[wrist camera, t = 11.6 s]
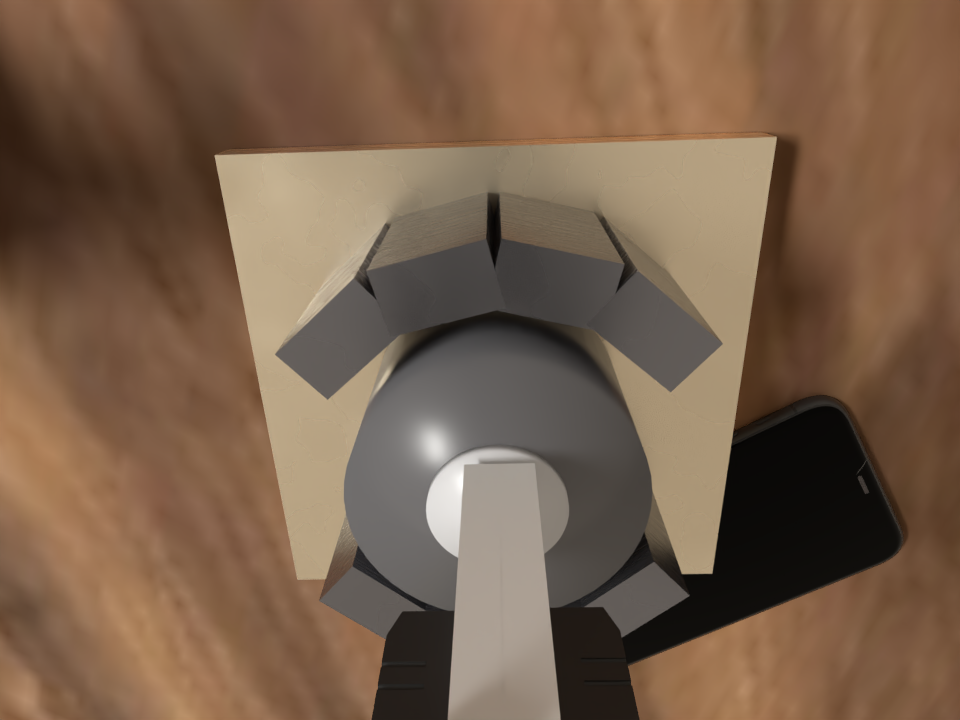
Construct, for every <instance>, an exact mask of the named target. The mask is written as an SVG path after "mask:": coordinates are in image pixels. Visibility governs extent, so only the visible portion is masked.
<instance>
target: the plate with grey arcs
mask: <svg viewBox="0 0 960 720" xmlns="http://www.w3.org/2000/svg"><path fill="white" fill-rule="evenodd" d="M776 140H777V137H775V136H773V135H770V134H767V133H764V132H744V133H713V134H682V135H652V136H621V137H590V138H560V139H529V140H499V141H468V142H437V143H407V144H376V145H346V146H315V147H284V148H254V149H228V150H226V151H223V152H221V153H219V154H216V155H215V160H216V165H217V170H218V175H219V181H220V186H221V191H222V196H223V201H224V206H225V211H226V216H227V222H228V227H229V232H230V237H231V242H232V247H233V252H234V257H235V263H236V268H237V273H238V278H239V283H240V288H241V293H242V298H243V303H244V309H245V314H246V319H247V324H248V329H249V334H250V339H251V344H252V350H253V355H254V360H255V365H256V370H257V375H258V380H259V385H260V390H261V396H262V401H263V406H264V411H265V416H266V421H267V426H268V431H269V437H270V442H271V447H272V452H273V457H274V462H275V467H276V472H277V478H278V483H279V488H280V493H281V498H282V503H283V508H284V513H285V518H286V524H287V529H288V534H289V539H290V544H291V549H292V554H293V559H294V565H295V570H296V575H297V580H301V579H326V580H325V584H324V587H323V590H322V593H321V597H320V600H319V601H320V602H322V603H324V604H326V605H327V606H329V607H331V608H333V609H334V610H336V611H338V612H339V613H341V614H343V615H345V616H346V617H348V618H350V619H352V620H353V621H355V622H357V623H358V624H360V625H362V626H364V627H365V628H367V629H369V630H370V631H372V632H374V633H376V634H377V635H379V636H381V637H383V638H384V639H386V636H387V634H388V632H389V631H390V629H391V628H392V626H393V625H394V623H395V622H396V620H397V619H398V617H399V616H400V614H401V613H402V611H447V610H444V609H440V608H437V607H435V606H432V605H430V604H427V603H425V602H422V601H420V600H418V599H417V598H415V597H413V596H411V595H409V594H407V593H405V592H404V591H402V590H401V589H400V588H398V587H397V586H395V585H394V584H392V583H391V582H390V581H389V580H388V579H386V578H385V577H384V576H383V575H382V574H381V573H380V572H379V571H378V570H377V569H376V568H375V567H374V566H373V565H372V564H371V563H370V561H369V560H368V559H367V558H366V556H365V555H364V553H363V552H362V550H361V549H360V547H359V546H358V544H357V542H356V540H355V538H354V536H353V534H352V532H351V529H350V526H349V522H348V519H347V516H346V510H345V504H344V479H345V474H346V468H347V464H348V461H349V458H350V455H351V452H352V449H353V446H354V443H355V440H356V437H357V434H358V431H359V428H360V426H361V423H362V420H363V417H364V414H365V411H366V408H367V405H368V402H369V399H370V396H371V393H372V390H373V387H374V384H375V381H376V378H377V375H378V372H379V369H380V366H381V363H382V360H383V357H384V355H385V352H386V350H387V349H388V347H389V345H390V343H392V342H393V341H394V340H395V339H396V338H397V337H398V336H399V335H402V334H406V333H410V332H413V331H417V330H421V329H425V328H429V327H433V326H437V325H441V324H445V323H449V322H453V321H456V320H460V319H464V318H468V317H472V316H476V315H480V314H484V313H488V312H492V311H501V312H506V313H511V314H516V315H521V316H526V317H531V318H536V319H541V320H546V321H551V322H555V323H560V324H565V325H570V326H575V327H580V328H585V329H590V330H594V331H595V332H596V333H597V335H598V336H599V338H600V340H601V341H602V343H603V345H604V346H605V348H606V350H607V353H608V355H609V357H610V360H611V362H612V365H613V368H614V371H615V373H616V376H617V379H618V381H619V384H620V387H621V390H622V392H623V395H624V398H625V400H626V403H627V406H628V409H629V411H630V414H631V417H632V419H633V422H634V425H635V428H636V430H637V433H638V436H639V438H640V441H641V444H642V446H643V449H644V452H645V455H646V457H647V460H648V465H649V469H650V473H651V479H652V504H651V511H650V515H649V519H648V523H647V526H646V529H645V531H644V533H643V536H642V538H641V540H640V542H639V544H638V545H637V547H636V549H635V550H634V552H633V554H632V555H631V556H630V558H629V559H628V560H627V561H626V563H625V564H624V565H623V566H622V567H621V568H620V569H619V570H618V571H617V572H616V573H615V574H614V575H613V576H612V577H611V578H610V579H609V580H608V581H606V582H605V583H604V584H602V585H601V586H599V587H598V588H597V589H595V590H594V591H592V592H590V593H589V594H587V595H585V596H583V597H582V598H580V599H578V600H576V601H573V602H571V603H569V604H567V605H564V606H562V607H558V608H564V607H603V608H604V609H605V610H606V612H607V613H608V614H609V616H610V617H611V619H612V620H613V621H614V623H615V624H616V625H617V627H618V628H619V630H620V632H621V637H624V636H625V635H627V634H629V633H630V632H632V631H633V630H635V629H637V628H638V627H640V626H642V625H643V624H645V623H646V622H648V621H650V620H651V619H653V618H655V617H656V616H658V615H659V614H661V613H663V612H664V611H666V610H668V609H669V608H671V607H672V606H674V605H676V604H677V603H679V602H681V601H682V600H684V599H685V598H687V597H689V596H690V595H689V592H688V590H687V587H686V584H685V581H684V578H683V575H682V574H712V572H713V565H714V558H715V551H716V545H717V538H718V531H719V524H720V518H721V511H722V504H723V497H724V491H725V484H726V477H727V470H728V464H729V457H730V450H731V443H732V437H733V430H734V423H735V416H736V410H737V403H738V396H739V389H740V383H741V376H742V369H743V362H744V356H745V349H746V342H747V335H748V329H749V322H750V315H751V308H752V302H753V295H754V288H755V282H756V275H757V268H758V261H759V255H760V248H761V241H762V234H763V228H764V221H765V214H766V207H767V201H768V194H769V187H770V180H771V174H772V167H773V160H774V153H775V147H776Z"/></svg>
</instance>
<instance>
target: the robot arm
mask: <svg viewBox="0 0 960 720" xmlns="http://www.w3.org/2000/svg"><path fill="white" fill-rule="evenodd" d="M372 720H639V715H638V711H637V706H636V702H635V697H634V692H633V688H632V686H631V678H630V674H629V669H628V665H627V663H626V655H625V651H624V646H623V641H622V637H621V632H620V630H619V628H618V627H617V625H616V624H615V623H614V621H613V620H612V619H611V617H610V616H609V614H608V613H607V612H606V610H605V609H604V608H603V607H564V608H549V599H548V589H547V579H546V570H545V560H544V550H543V540H542V530H541V520H540V510H539V500H538V490H537V480H536V470H535V463H516V464H464V476H463V491H462V507H461V522H460V538H459V553H458V569H457V584H456V599H455V611H402V613H401V614H400V616H399V617H398V619H397V620H396V622H395V623H394V625H393V626H392V628H391V629H390V631H389V632H388V634H387V636H386V641H385V647H384V653H383V658H382V667H381V670H380V675H379V681H378V690H377V693H376V698H375V704H374V710H373V715H372Z"/></svg>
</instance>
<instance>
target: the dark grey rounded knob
mask: <svg viewBox="0 0 960 720" xmlns="http://www.w3.org/2000/svg"><path fill="white" fill-rule="evenodd" d="M516 463H535V470H536V480H537V490H538V500H539V510H540V520H541V530H542V540H543V550H544V560H545V570H546V579H547V589H548V599H549V608H558V607H562V606H564V605H567V604H569V603H571V602H573V601H576V600H578V599H580V598H582V597H583V596H585V595H587V594H589V593H590V592H592V591H594V590H595V589H597V588H598V587H599V586H601V585H602V584H604V583H605V582H606V581H608V580H609V579H610V578H611V577H612V576H613V575H614V574H615V573H616V572H617V571H618V570H619V569H620V568H621V567H622V566H623V565H624V564H625V563H626V561H627V560H628V559H629V558H630V556H631V555H632V554H633V552H634V550H635V549H636V547H637V545H638V544H639V542H640V540H641V538H642V536H643V533H644V531H645V529H646V526H647V523H648V519H649V515H650V511H651V504H652V479H651V473H650V469H649V465H648V460H647V457H646V455H645V452H644V449H643V446H642V444H641V441H640V438H639V436H638V433H637V430H636V428H635V425H634V422H633V419H632V417H631V414H630V411H629V409H628V406H627V403H626V400H625V398H624V395H623V392H622V390H621V387H620V384H619V381H618V379H617V376H616V373H615V371H614V368H613V365H612V362H611V360H610V357H609V355H608V353H607V350H606V348H605V346H604V345H603V343H602V341H601V340H600V338H599V336H598V335H597V333H596V332H595V331H594V330H590V329H585V328H580V327H575V326H570V325H565V324H560V323H555V322H551V321H546V320H541V319H536V318H531V317H526V316H521V315H516V314H511V313H506V312H501V311H492V312H488V313H484V314H480V315H476V316H472V317H468V318H464V319H460V320H456V321H453V322H449V323H445V324H441V325H437V326H433V327H429V328H425V329H421V330H417V331H413V332H410V333H406V334H402V335H399V336H398V337H397V338H396V339H395V340H394V341H393V342H392V343H390V345H389V347H388V349H387V350H386V352H385V355H384V357H383V360H382V363H381V366H380V369H379V372H378V375H377V378H376V381H375V384H374V387H373V390H372V393H371V396H370V399H369V402H368V405H367V408H366V411H365V414H364V417H363V420H362V423H361V426H360V428H359V431H358V434H357V437H356V440H355V443H354V446H353V449H352V452H351V455H350V458H349V461H348V464H347V468H346V474H345V479H344V504H345V510H346V516H347V519H348V522H349V526H350V529H351V532H352V534H353V536H354V538H355V540H356V542H357V544H358V546H359V547H360V549H361V550H362V552H363V553H364V555H365V556H366V558H367V559H368V560H369V561H370V563H371V564H372V565H373V566H374V567H375V568H376V569H377V570H378V571H379V572H380V573H381V574H382V575H383V576H384V577H385V578H386V579H388V580H389V581H390V582H391V583H392V584H394V585H395V586H397V587H398V588H400V589H401V590H402V591H404V592H405V593H407V594H409V595H411V596H413V597H415V598H417V599H418V600H420V601H422V602H425V603H427V604H430V605H432V606H435V607H437V608H440V609H444V610H447V611H455V599H456V584H457V569H458V553H459V538H460V522H461V507H462V491H463V476H464V464H516Z"/></svg>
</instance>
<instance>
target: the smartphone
mask: <svg viewBox="0 0 960 720" xmlns="http://www.w3.org/2000/svg"><path fill="white" fill-rule="evenodd" d="M902 545H903V531H902V528H901V526H900V524H899V521H898V519H897V517H896V515H895V512H894V510H893V508H892V506H891V504H890V501H889V499H888V497H887V495H886V493H885V490H884V488H883V486H882V484H881V482H880V480H879V477H878V475H877V473H876V471H875V469H874V467H873V464H872V462H871V460H870V458H869V456H868V454H867V451H866V449H865V447H864V445H863V443H862V441H861V438H860V436H859V434H858V432H857V430H856V428H855V426H854V423H853V421H852V419H851V417H850V415H849V413H848V411H847V410H846V408H845V407H844V406H843V405H842V404H841V403H840V402H839V401H837V400H836V399H834V398H832V397H829V396H824V395H817V396H811V397H808V398H805V399H802V400H799V401H797V402H795V403H793V404H791V405H789V406H786V407H784V408H782V409H780V410H778V411H776V412H774V413H772V414H770V415H768V416H766V417H764V418H762V419H760V420H758V421H755V422H753V423H751V424H749V425H747V426H745V427H743V428H741V429H738V430H736V431H733V437H732V443H731V450H730V457H729V464H728V470H727V477H726V484H725V491H724V497H723V504H722V511H721V518H720V524H719V531H718V538H717V545H716V551H715V558H714V565H713V572H712V574H682V575H683V578H684V581H685V584H686V587H687V590H688V592H689V595H690V596H689V597H687V598H685V599H684V600H682V601H681V602H679V603H677V604H676V605H674V606H672V607H671V608H669V609H668V610H666V611H664V612H663V613H661V614H659V615H658V616H656V617H655V618H653V619H651V620H650V621H648V622H646V623H645V624H643V625H642V626H640V627H638V628H637V629H635V630H633V631H632V632H630V633H629V634H627V635H625V636H624V637H622V641H623V646H624V651H625V655H626V663H627V665H628V666H629V665H632V664H634V663H637V662H639V661H642V660H644V659H647V658H649V657H652V656H654V655H657V654H659V653H662V652H664V651H667V650H669V649H672V648H674V647H677V646H679V645H682V644H684V643H687V642H689V641H691V640H694V639H696V638H699V637H701V636H704V635H706V634H709V633H711V632H714V631H716V630H719V629H721V628H724V627H726V626H729V625H731V624H734V623H736V622H739V621H741V620H744V619H746V618H749V617H751V616H754V615H756V614H759V613H761V612H764V611H766V610H768V609H771V608H773V607H776V606H778V605H781V604H783V603H786V602H788V601H791V600H793V599H796V598H798V597H801V596H803V595H806V594H808V593H811V592H813V591H816V590H818V589H821V588H823V587H826V586H828V585H831V584H833V583H836V582H838V581H840V580H843V579H845V578H848V577H850V576H853V575H855V574H858V573H860V572H863V571H865V570H868V569H870V568H873V567H875V566H878V565H880V564H882V563H884V562H886V561H888V560H890V559H891V558H893V557H894V556H895V555H896V554H897V553H898V552H899V551H900V549H901V547H902Z"/></svg>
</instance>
